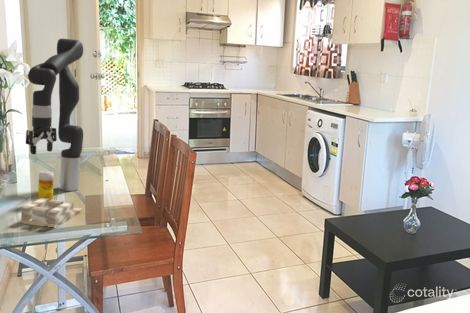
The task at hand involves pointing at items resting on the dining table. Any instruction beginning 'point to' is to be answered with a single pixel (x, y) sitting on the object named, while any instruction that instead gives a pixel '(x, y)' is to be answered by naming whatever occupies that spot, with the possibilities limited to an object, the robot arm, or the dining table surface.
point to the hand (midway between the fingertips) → (41, 152)
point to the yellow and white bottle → (46, 185)
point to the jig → (48, 212)
